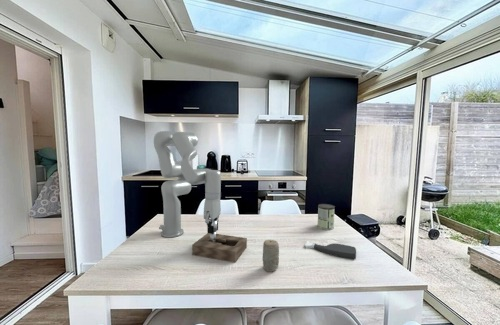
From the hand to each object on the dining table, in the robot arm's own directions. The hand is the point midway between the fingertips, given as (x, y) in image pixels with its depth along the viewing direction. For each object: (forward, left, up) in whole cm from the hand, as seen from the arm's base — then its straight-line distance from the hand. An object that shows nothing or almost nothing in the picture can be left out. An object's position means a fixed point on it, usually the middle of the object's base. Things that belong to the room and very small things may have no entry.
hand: (212, 231), depth 114 cm
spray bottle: (+56, +19, -10) cm, 60 cm away
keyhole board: (+4, 0, -9) cm, 10 cm away
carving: (+31, -8, -10) cm, 34 cm away
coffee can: (+54, +54, -10) cm, 77 cm away
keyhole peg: (0, 0, -9) cm, 9 cm away
